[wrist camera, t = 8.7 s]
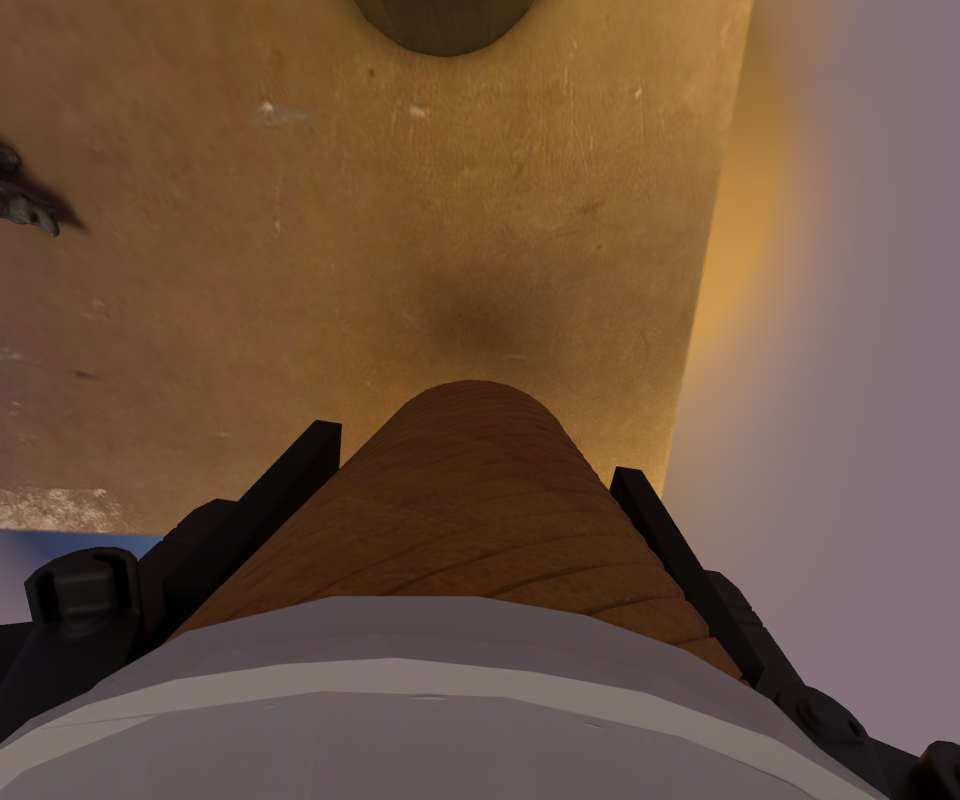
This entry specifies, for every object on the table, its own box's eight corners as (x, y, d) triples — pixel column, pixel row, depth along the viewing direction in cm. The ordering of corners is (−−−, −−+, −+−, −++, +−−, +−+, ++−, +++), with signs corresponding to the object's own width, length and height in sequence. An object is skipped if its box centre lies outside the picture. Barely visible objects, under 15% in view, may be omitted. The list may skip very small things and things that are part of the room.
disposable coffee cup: (384, 616, 17) (151, 1438, 5) (274, 373, 13) (-852, 1091, 2) (649, 562, 15) (1077, 1461, 4) (594, 282, 12) (1664, 802, 1)
